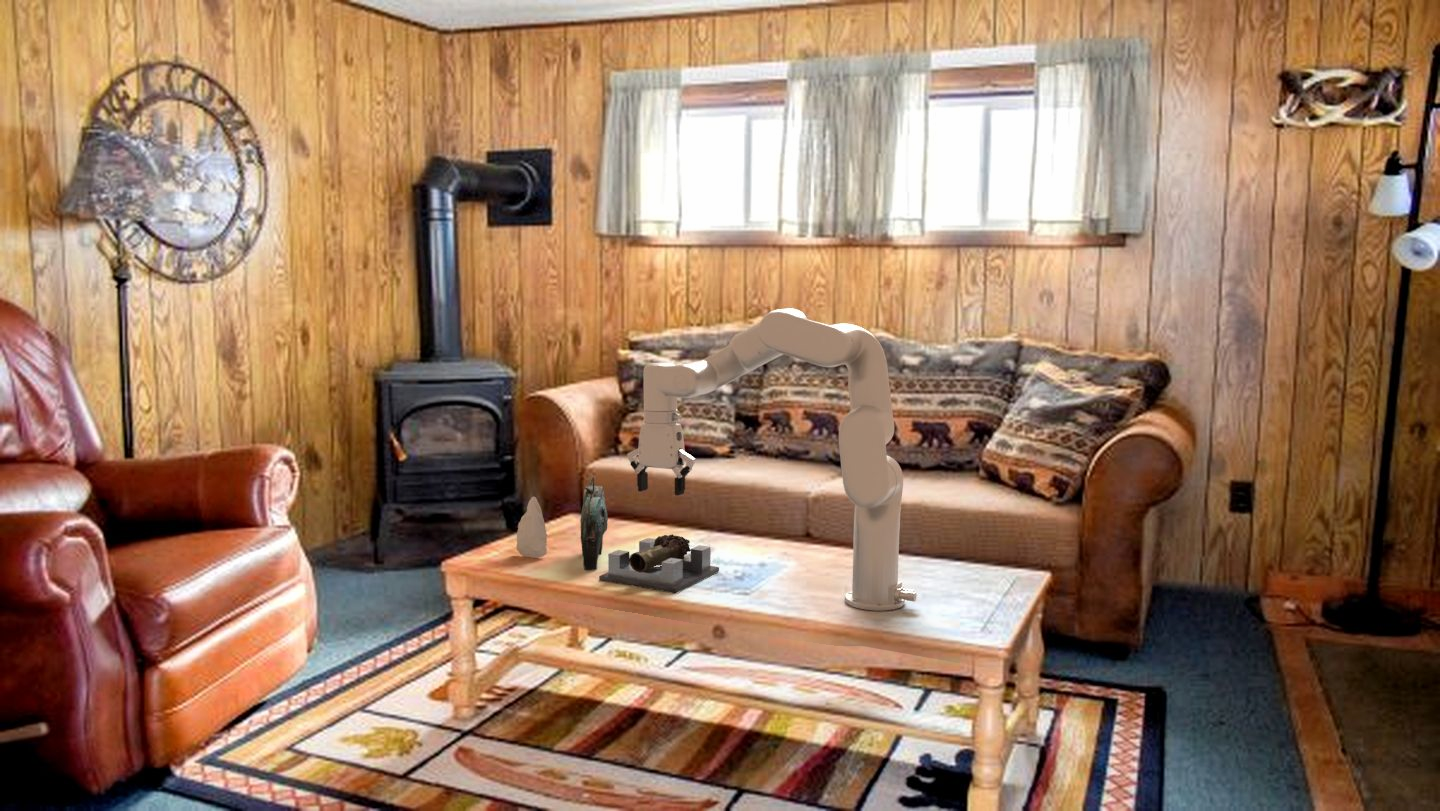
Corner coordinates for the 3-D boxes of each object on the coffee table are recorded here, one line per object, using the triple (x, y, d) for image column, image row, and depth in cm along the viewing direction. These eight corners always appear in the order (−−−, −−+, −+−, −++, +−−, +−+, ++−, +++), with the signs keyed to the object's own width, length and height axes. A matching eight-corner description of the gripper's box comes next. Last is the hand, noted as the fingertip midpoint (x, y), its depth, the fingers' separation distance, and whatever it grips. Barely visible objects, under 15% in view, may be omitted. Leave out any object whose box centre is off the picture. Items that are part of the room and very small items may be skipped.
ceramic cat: (584, 549, 273) (583, 471, 270) (610, 549, 273) (609, 471, 270) (576, 571, 253) (576, 486, 250) (604, 571, 253) (604, 486, 251)
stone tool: (550, 556, 265) (549, 496, 264) (543, 559, 263) (543, 498, 261) (519, 553, 268) (518, 493, 266) (512, 556, 265) (511, 495, 264)
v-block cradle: (719, 571, 254) (719, 546, 253) (675, 593, 236) (675, 566, 235) (646, 560, 263) (646, 535, 262) (599, 580, 245) (599, 554, 245)
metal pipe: (645, 574, 240) (645, 549, 239) (622, 569, 244) (622, 545, 243) (694, 557, 254) (694, 533, 254) (671, 553, 258) (671, 529, 257)
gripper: (702, 418, 244) (702, 493, 246) (636, 413, 252) (637, 486, 254) (685, 422, 238) (685, 499, 240) (619, 417, 246) (619, 491, 248)
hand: (661, 492), depth 247 cm, fingers open, 9 cm apart
